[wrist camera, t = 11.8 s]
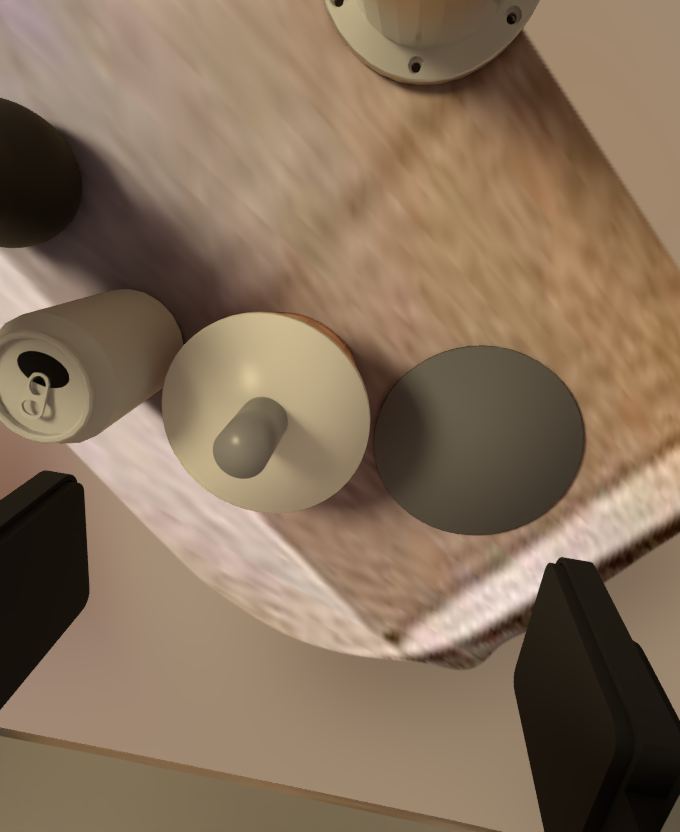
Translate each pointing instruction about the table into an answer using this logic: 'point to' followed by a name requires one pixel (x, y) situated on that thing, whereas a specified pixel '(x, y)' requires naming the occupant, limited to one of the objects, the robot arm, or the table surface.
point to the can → (84, 364)
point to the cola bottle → (34, 178)
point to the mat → (478, 440)
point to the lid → (266, 412)
